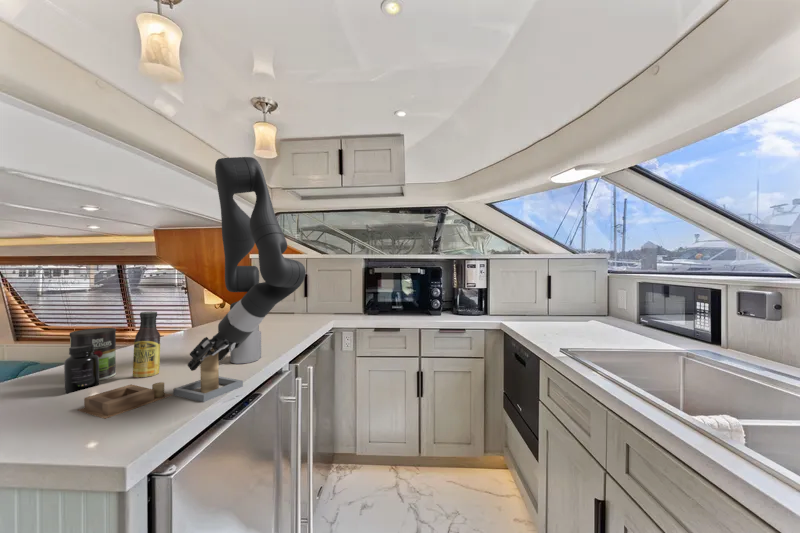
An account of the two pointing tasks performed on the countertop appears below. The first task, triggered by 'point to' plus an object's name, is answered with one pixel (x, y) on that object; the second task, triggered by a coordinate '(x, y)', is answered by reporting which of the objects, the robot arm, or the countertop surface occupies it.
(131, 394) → the wooden slotted base
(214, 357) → the dowel
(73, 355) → the supplement bottle
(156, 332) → the sauce bottle
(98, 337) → the coffee can
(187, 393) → the tray
